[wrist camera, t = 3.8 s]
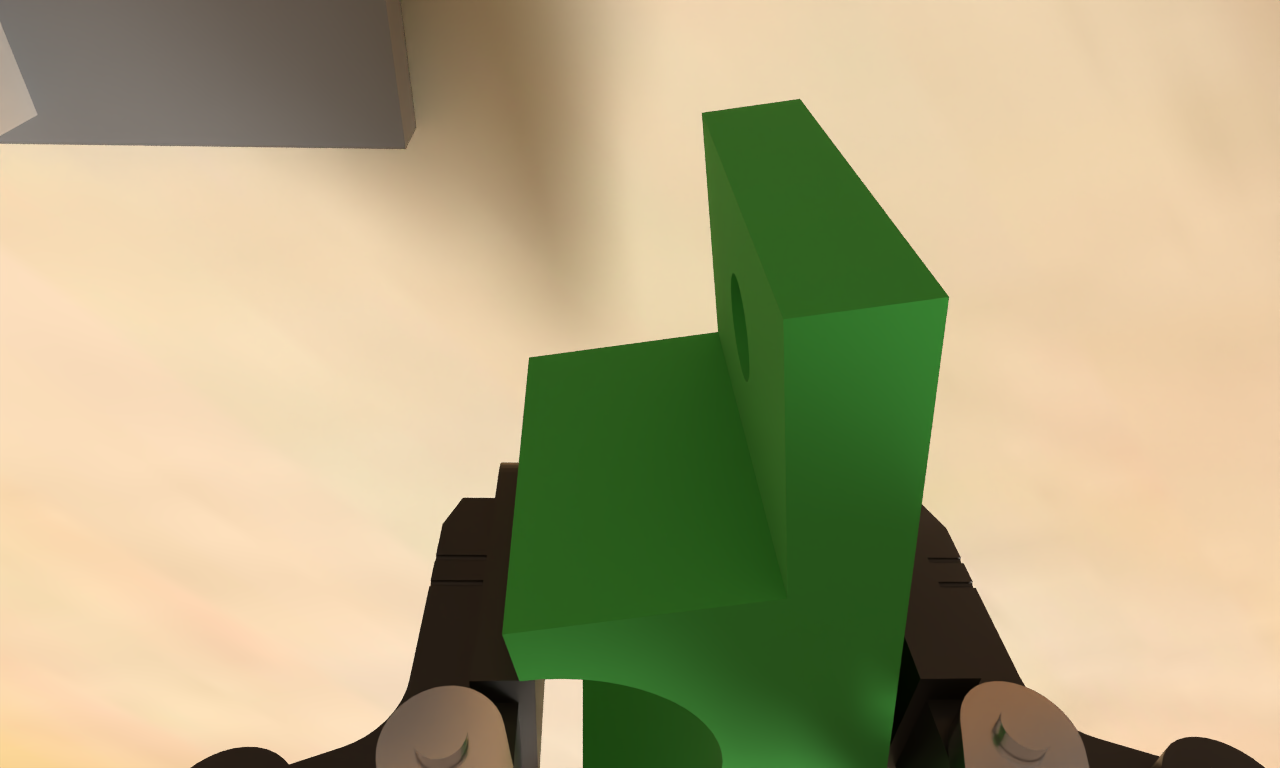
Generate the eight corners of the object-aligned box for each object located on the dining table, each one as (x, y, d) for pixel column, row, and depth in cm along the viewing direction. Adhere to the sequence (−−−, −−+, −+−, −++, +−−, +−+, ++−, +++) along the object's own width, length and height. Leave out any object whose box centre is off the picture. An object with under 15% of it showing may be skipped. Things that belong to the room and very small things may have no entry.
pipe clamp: (475, 141, 9) (398, 366, 5) (798, 95, 9) (953, 290, 5) (613, 694, 16) (622, 970, 12) (800, 671, 15) (869, 940, 12)
